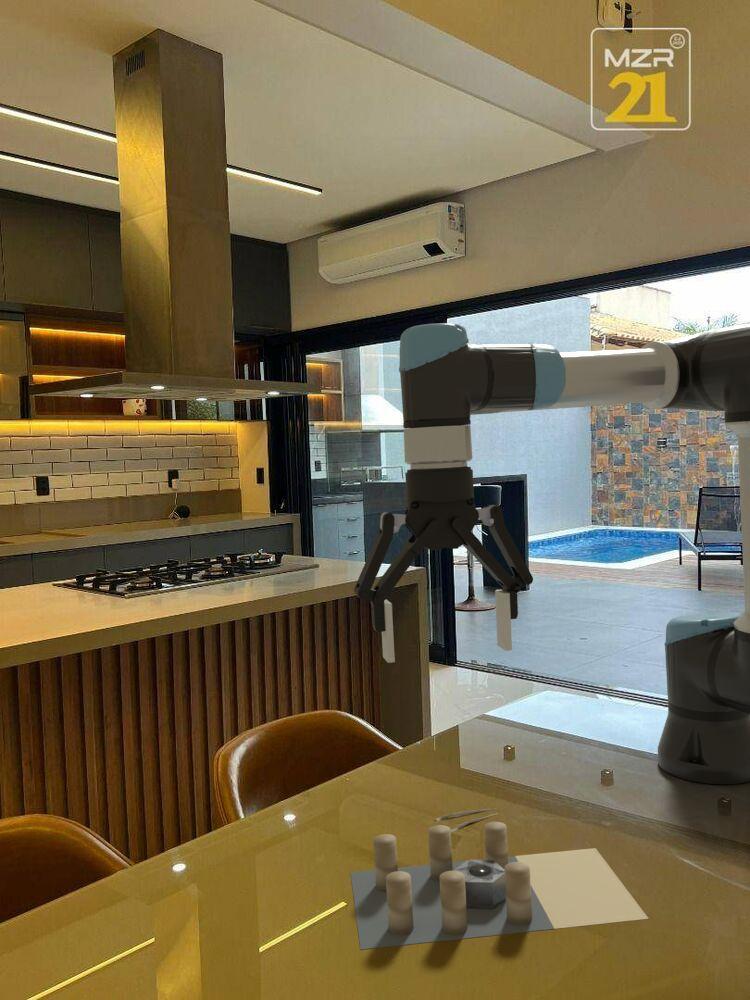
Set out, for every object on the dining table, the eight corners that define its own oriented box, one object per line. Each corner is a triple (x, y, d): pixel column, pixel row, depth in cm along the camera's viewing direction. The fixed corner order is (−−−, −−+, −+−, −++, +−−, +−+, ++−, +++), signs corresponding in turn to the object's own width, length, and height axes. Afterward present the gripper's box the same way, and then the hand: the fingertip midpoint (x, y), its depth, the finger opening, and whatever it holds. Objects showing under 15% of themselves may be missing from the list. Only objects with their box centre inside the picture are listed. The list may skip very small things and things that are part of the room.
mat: (595, 852, 106) (595, 848, 106) (648, 924, 90) (648, 918, 90) (350, 877, 103) (350, 872, 103) (360, 955, 87) (360, 949, 87)
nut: (489, 880, 99) (487, 854, 99) (514, 904, 94) (512, 876, 94) (449, 890, 98) (448, 863, 98) (472, 915, 92) (471, 887, 92)
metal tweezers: (446, 842, 112) (447, 827, 112) (428, 829, 116) (429, 814, 116) (556, 819, 120) (556, 805, 120) (535, 808, 124) (535, 794, 124)
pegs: (504, 864, 103) (502, 819, 103) (536, 926, 89) (534, 875, 89) (374, 877, 102) (371, 831, 101) (386, 942, 88) (383, 890, 88)
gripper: (531, 459, 103) (538, 636, 104) (323, 471, 98) (333, 657, 99) (557, 460, 95) (564, 650, 97) (333, 472, 90) (344, 673, 92)
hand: (447, 654), depth 98 cm, fingers open, 13 cm apart
